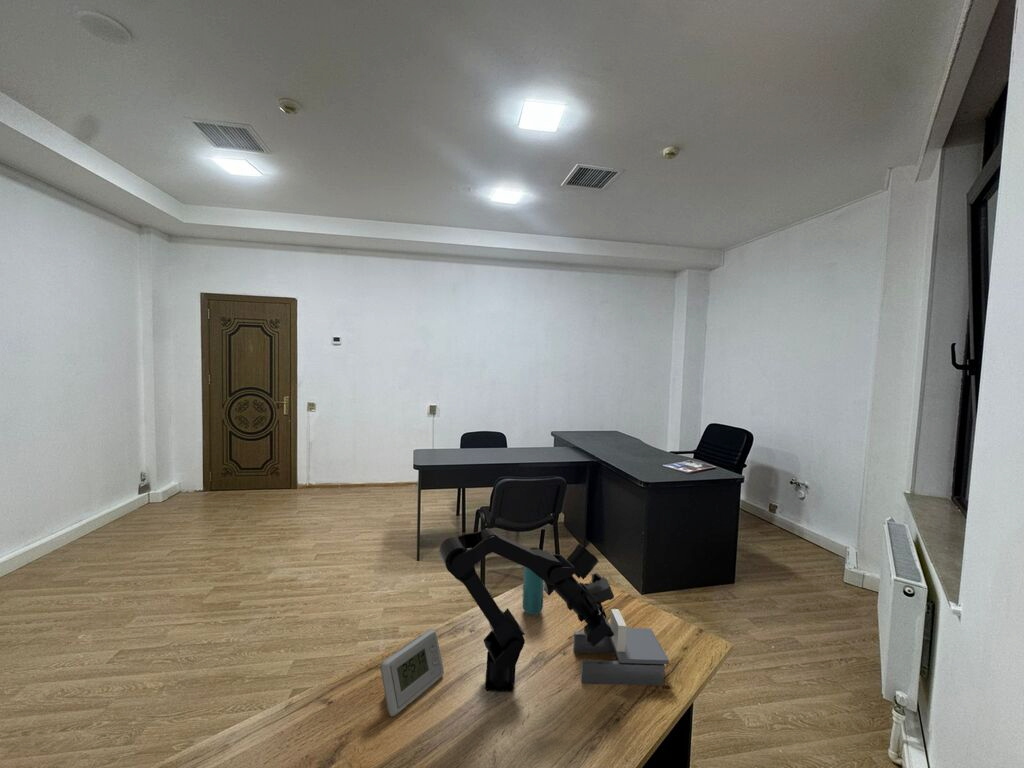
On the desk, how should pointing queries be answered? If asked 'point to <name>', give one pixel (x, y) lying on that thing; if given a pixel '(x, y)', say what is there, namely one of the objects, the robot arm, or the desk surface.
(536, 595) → the beverage bottle
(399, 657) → the digital clock
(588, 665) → the metal rails
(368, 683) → the desk surface
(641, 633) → the sliding lid
